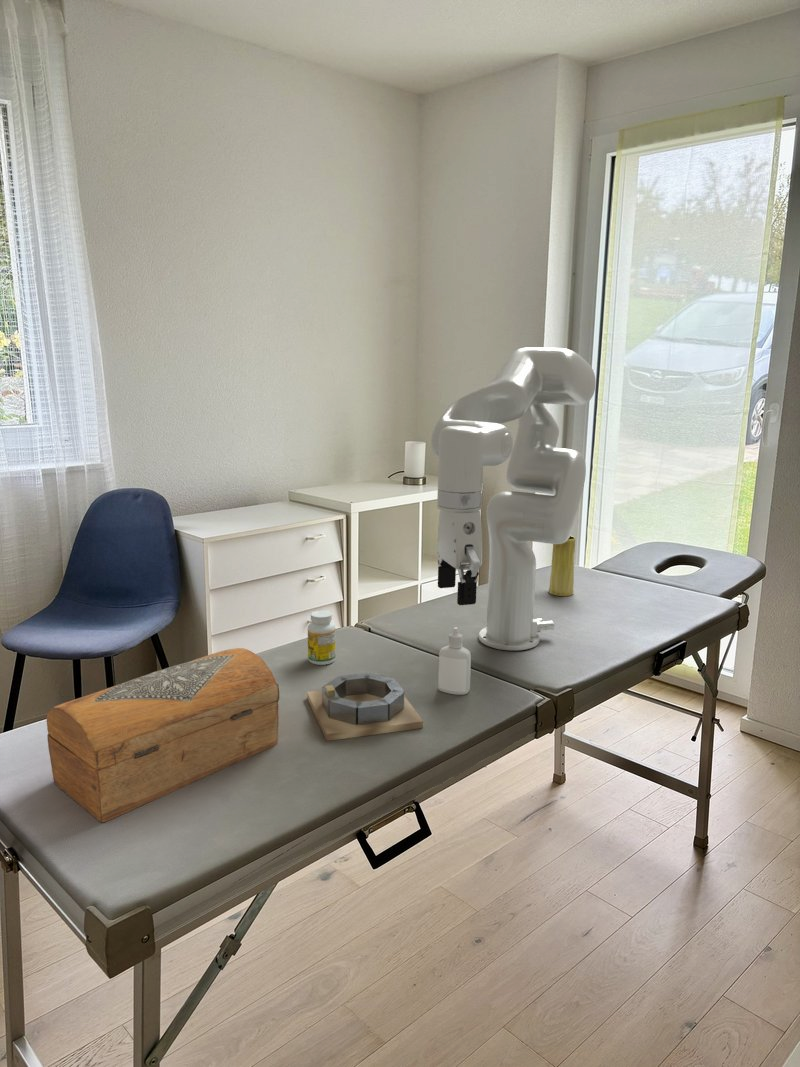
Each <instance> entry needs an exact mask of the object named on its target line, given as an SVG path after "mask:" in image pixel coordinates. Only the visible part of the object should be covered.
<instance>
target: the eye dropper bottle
mask: <svg viewBox="0 0 800 1067" xmlns="http://www.w3.org/2000/svg"><path fill="white" fill-rule="evenodd" d="M471 658H472V655H471V651H470V650H469V649H468V648H465V647H464V646H463V634H461V633H460V632H459V628H458V627H457V626H455V627H453V631H452V633H449V634H448V644H447V645H446V646H443V647H442V648H441V649H440V650H439V654H438V669H437V670H438V675H437V676H438V677H437V678H438V679H437V681H438V682H437V689H438V691H440V692H442V693H445V694H450V695H459V696H461V695H462V696H464V695H467V694H468V693H469V691H470V689H471V669H472V668H471V665H472V664H471V663H472V661H471V660H472V659H471Z"/></svg>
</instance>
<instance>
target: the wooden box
mask: <svg viewBox="0 0 800 1067" xmlns="http://www.w3.org/2000/svg"><path fill="white" fill-rule="evenodd" d="M279 700H280V687H279V683H278V681H277V680H276V679H275V676H274V674H273V673H272V670H271V669H270V667H269V666H268V664H267V663H266V662H265V661H264V659H263V658H261V657H260V655H257V654H256V653H255V652H253V651H251V650H249V649H247V648H244V647H243V648H242V647H241V648H239V647H235V648H231V649H230V648H229V649H225V650H222V651H217V652H213V653H212V654H207V655H204V656H202V657H199V658H196V659H193V660H191V661H187V662H184V663H183V662H182V663H180V664H175V665H172V666H168V667H166V668H164V669H163V668H162V669H160V670H155V671H153V672H150V673H148V674H145V675H141V676H139V677H136V678H133V679H131V680H128V681H127V680H126V681H125V682H122V683H121V682H120V683H119V684H116V685H113V686H111V687H106V688H105V689H102V690H98V691H97V692H93V693H90V694H87V695H84V696H82V697H78V698H75V699H72V700H69V701H65V702H63V703H60V704H57V705H56V706H53V707H52V708H50V709H49V710H48V713H47V716H46V726H47V727H46V728H47V729H46V730H47V745H48V746H47V747H48V752H49V760H50V764H51V772H52V777H53V783H54V784H55V785H56V786H57V787H58V789H60V790H61V791H62V792H64V793H65V794H66V795H67V796H68V797H69V798H71V799H72V800H73V801H74V802H76V803H77V805H79V806H80V807H81V808H82V809H84V810H85V811H86V812H87V813H88V814H90V815H92V817H94V818H95V819H96V820H97V821H99V822H101V823H106V822H108V821H111V820H113V819H115V818H118V817H119V816H122V815H124V814H127V813H128V812H131V811H133V810H135V809H137V808H140V807H141V806H144V805H147V804H148V803H152V801H156V800H157V799H159V798H161V797H163V796H166V795H168V794H171V793H172V792H175V791H177V790H179V789H181V788H184V787H186V786H188V785H191V784H193V783H195V782H197V781H200V780H201V779H204V778H206V777H208V776H211V775H212V774H215V773H216V772H220V771H221V770H224V769H225V768H227V767H231V766H232V765H234V764H237V763H239V762H241V761H243V760H246V759H248V758H250V757H253V756H254V755H256V754H259V753H261V752H264V751H266V750H268V749H269V748H272V747H274V746H277V745H278V742H279Z"/></svg>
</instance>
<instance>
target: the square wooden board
mask: <svg viewBox="0 0 800 1067" xmlns="http://www.w3.org/2000/svg"><path fill="white" fill-rule="evenodd" d="M306 698H307V701H308V703H309V705H310V707H311V709H312V712H313V714H314V716H315V719H316V721H317V723H318V725H319V727H320V730H321V732H322V734H323V736H324V739H325V741H326V742H328V741H329V742H330V741H337V740H343V739H344V740H345V739H353V738H360V737H365V736H366V737H367V736H374V735H380V734H388V733H396V732H403V731H410V730H417V729H418V730H419V729H424V721H423V720H422V718H421V717H420V715H419V714H418V713H417V711H416V710H415V708H414V707H413V705H412V704H411V703H410V701H409V700H408V698H407V697H406V696H405V695H404V709H403V710H402V711H401V712H399V713H398V714H397V715H396V716H395V717H393V718H392V719H391V720H390V721H389V720H388V721H387V722H380V723H372V724H364V725H358V724H357V725H353V724H350V723H346V722H342V721H338V720H335V719H331V718H330V717H328V716H327V713H326V711H325V709H324V707H323V705H322V689H321V690H320V689H319V690H312V691H306ZM343 699H347V700H351V701H355V702H366V701H374V700H381V699H382V697H378V696H374V695H370V694H360V695H351V696H345V697H344V698H343Z"/></svg>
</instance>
